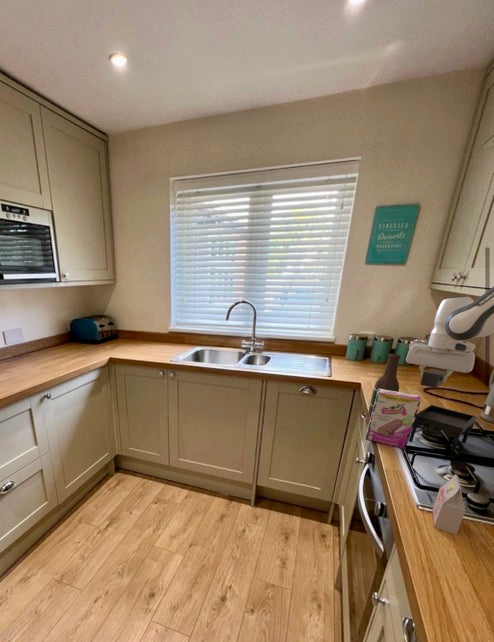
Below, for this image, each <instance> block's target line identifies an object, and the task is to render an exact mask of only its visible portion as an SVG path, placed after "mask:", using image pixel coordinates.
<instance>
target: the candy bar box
mask: <svg viewBox="0 0 494 642" xmlns="http://www.w3.org/2000/svg"><path fill="white" fill-rule="evenodd" d="M421 401H422V400H421V396H420V395H419V394H413V393H407V392H402V391H399V392H396V391H390V390H385V389H378V391H377V395H376V399H375V403H374V407H373V411H372V414H371V418H370V417H369V422H368V426H367V429H366V430H367V431H366V435H365V441H368V442H373V443H378V444H381V445H386V446H390V447H395V448H399V449H403V450H406V448H407V445H408V443H409V438H410V435H411V431H412V428H413V425H414V421H415V417H416V414H417V413H418V410H419V407H420V404H421Z"/></svg>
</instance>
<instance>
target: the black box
mask: <svg viewBox="0 0 494 642" xmlns="http://www.w3.org/2000/svg"><path fill="white" fill-rule="evenodd" d="M424 371H425V372H424V373H423V376H422V377H421V381H420V386H425V387H429V388H434V389H438V387H440V386H442V385H443V384H444V381H440V380H441V376H445V375H447V371H445V370H439V369H435V368H429V369H428V370H424Z"/></svg>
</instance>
